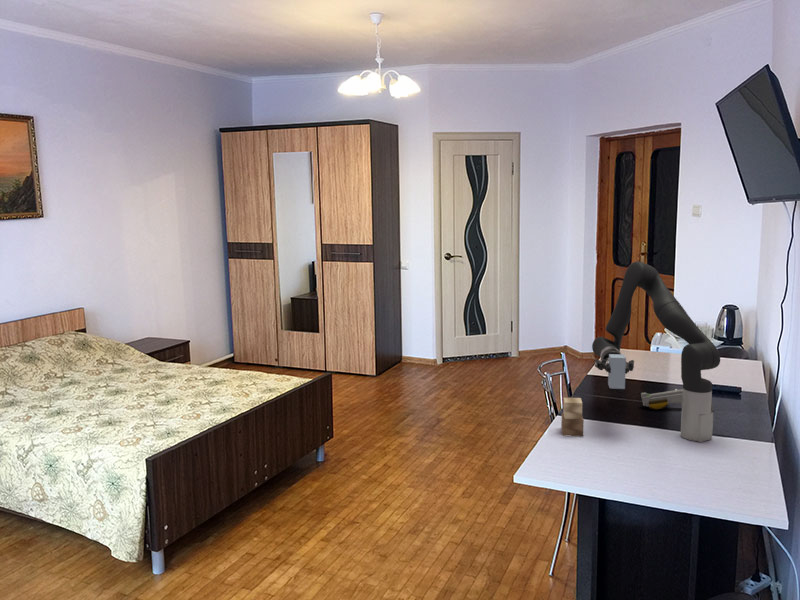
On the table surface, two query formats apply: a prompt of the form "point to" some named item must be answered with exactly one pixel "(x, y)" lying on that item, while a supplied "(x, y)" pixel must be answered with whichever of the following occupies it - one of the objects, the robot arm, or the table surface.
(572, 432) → the walnut block
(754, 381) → the table surface
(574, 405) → the beech block
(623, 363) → the slate block
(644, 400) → the toy
